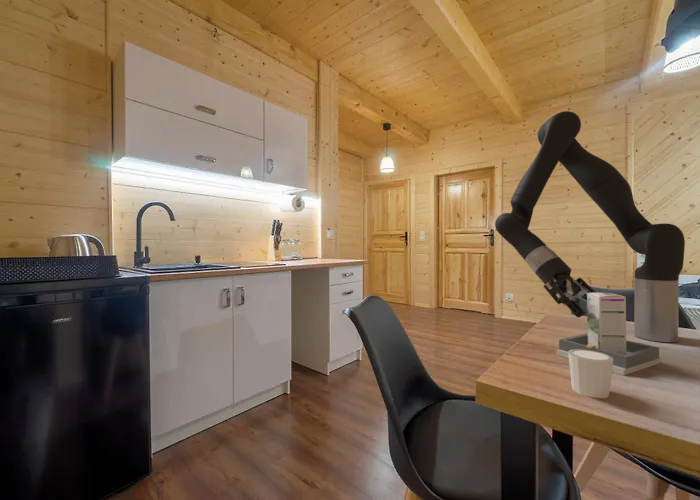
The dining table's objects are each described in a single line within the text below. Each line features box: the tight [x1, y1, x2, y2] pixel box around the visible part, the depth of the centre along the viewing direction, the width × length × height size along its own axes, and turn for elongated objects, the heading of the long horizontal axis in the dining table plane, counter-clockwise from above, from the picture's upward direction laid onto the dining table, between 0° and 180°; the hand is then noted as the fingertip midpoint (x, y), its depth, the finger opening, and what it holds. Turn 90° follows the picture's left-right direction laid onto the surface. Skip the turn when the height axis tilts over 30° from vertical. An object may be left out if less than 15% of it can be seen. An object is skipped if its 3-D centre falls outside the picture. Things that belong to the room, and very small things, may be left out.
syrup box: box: [586, 291, 627, 355], centre depth 76 cm, size 6×6×14 cm
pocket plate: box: [556, 333, 662, 376], centre depth 76 cm, size 16×14×4 cm
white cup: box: [568, 349, 613, 399], centre depth 60 cm, size 7×7×7 cm
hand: (592, 313), depth 79 cm, fingers open, 8 cm apart
